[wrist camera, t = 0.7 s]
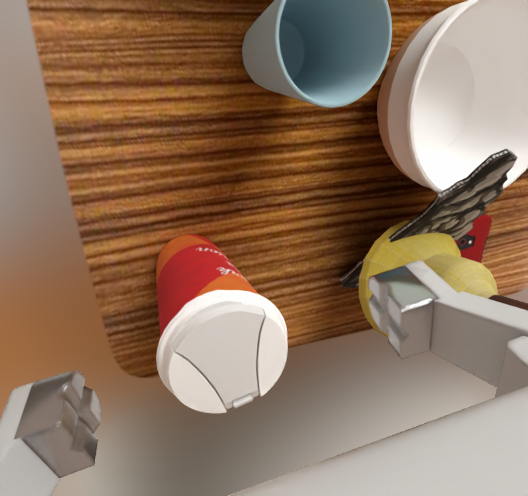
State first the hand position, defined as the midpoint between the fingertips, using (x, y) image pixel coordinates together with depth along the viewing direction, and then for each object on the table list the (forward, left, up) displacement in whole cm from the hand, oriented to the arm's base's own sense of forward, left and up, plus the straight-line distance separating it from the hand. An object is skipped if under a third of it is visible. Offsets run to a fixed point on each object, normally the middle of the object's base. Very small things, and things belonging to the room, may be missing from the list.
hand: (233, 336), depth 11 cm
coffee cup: (+7, -5, -24) cm, 26 cm away
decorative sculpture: (+19, +8, -18) cm, 27 cm away
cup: (+3, +14, -24) cm, 28 cm away
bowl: (+18, +20, -24) cm, 36 cm away
